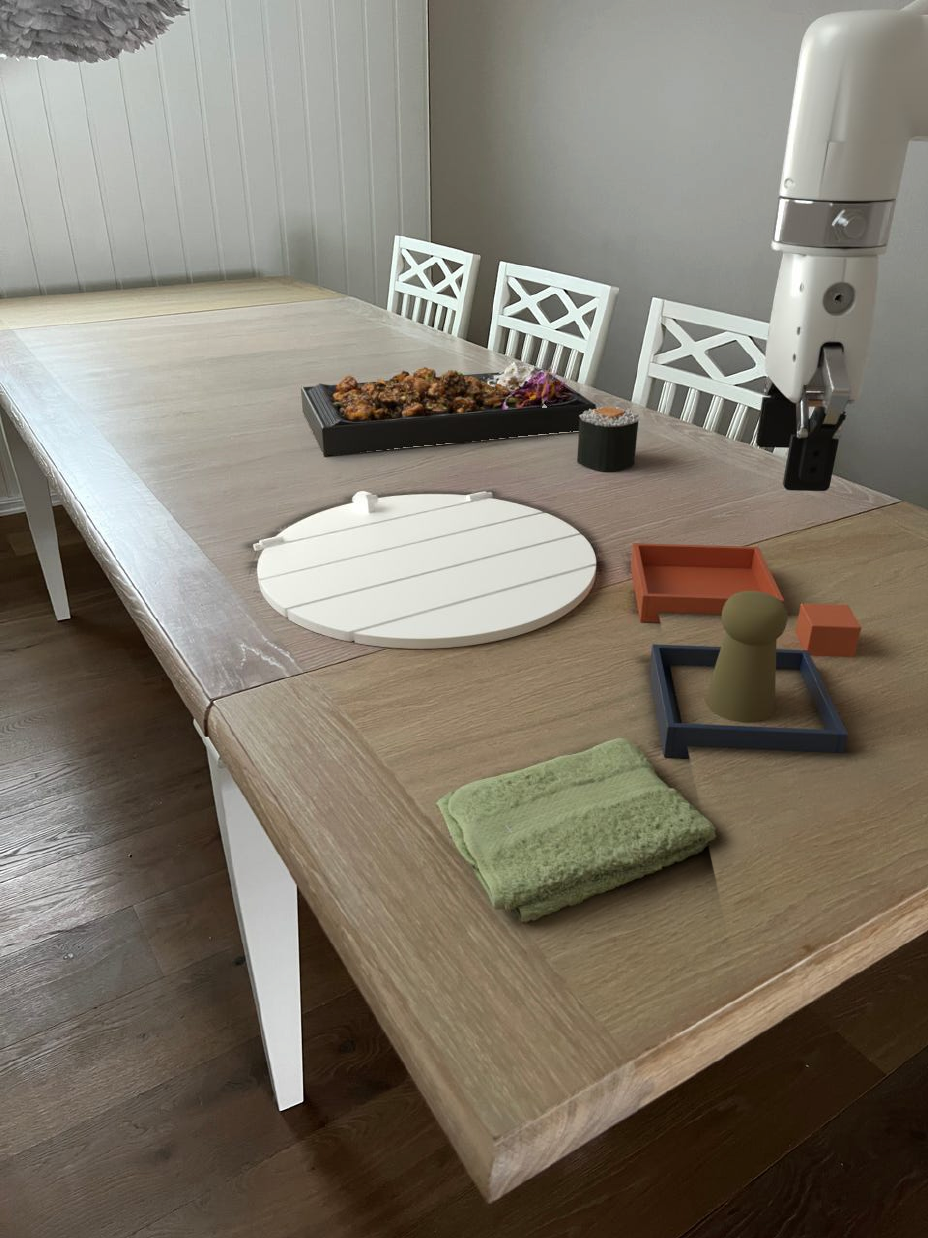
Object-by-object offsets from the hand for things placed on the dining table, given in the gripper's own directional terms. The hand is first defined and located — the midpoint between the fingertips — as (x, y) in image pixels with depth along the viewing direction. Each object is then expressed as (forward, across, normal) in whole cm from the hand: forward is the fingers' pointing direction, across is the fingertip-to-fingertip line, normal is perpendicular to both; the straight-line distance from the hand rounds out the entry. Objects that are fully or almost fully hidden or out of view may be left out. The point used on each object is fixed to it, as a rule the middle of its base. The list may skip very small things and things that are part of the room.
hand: (789, 466), depth 71 cm
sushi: (+23, +65, +9) cm, 69 cm away
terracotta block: (+22, +10, -9) cm, 26 cm away
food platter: (+23, +84, +35) cm, 94 cm away
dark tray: (+22, -1, +1) cm, 23 cm away
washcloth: (+23, -18, +16) cm, 33 cm away
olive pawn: (+22, -1, +1) cm, 22 cm away
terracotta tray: (+22, +22, +1) cm, 31 cm away
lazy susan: (+23, +28, +32) cm, 48 cm away
